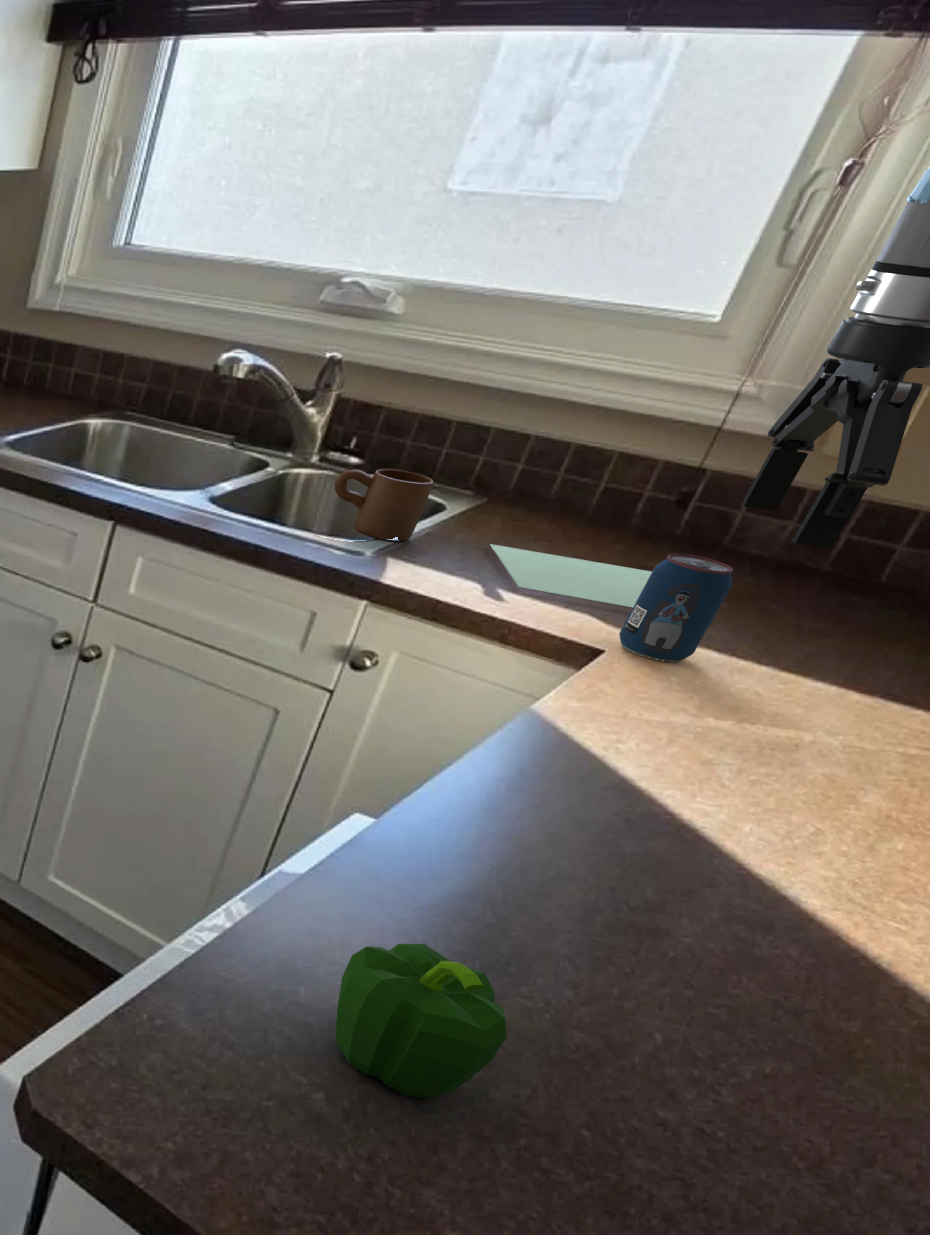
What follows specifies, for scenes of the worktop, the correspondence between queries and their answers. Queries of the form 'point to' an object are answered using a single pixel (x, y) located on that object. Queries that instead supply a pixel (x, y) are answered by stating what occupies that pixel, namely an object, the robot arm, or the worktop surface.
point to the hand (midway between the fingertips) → (783, 526)
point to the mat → (573, 576)
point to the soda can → (676, 607)
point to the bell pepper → (417, 1019)
